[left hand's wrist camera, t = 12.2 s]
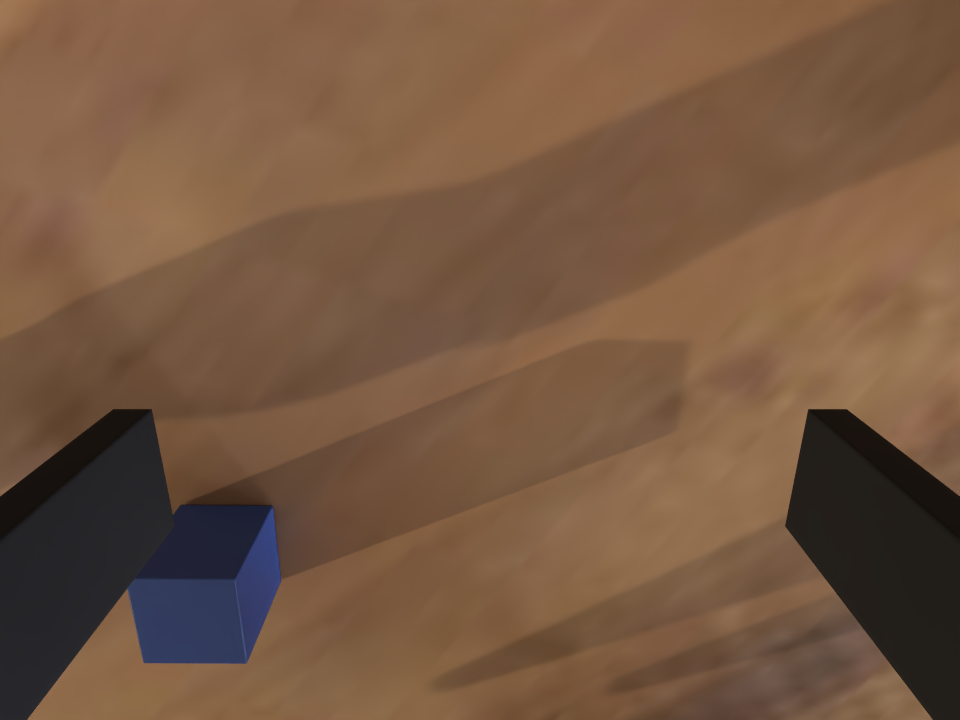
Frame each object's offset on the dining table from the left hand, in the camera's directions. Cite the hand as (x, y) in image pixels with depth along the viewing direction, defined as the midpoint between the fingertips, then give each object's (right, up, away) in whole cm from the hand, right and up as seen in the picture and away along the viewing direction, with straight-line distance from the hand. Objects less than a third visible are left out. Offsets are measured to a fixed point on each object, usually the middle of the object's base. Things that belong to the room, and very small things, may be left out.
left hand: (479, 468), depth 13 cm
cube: (-11, -6, +16) cm, 21 cm away
